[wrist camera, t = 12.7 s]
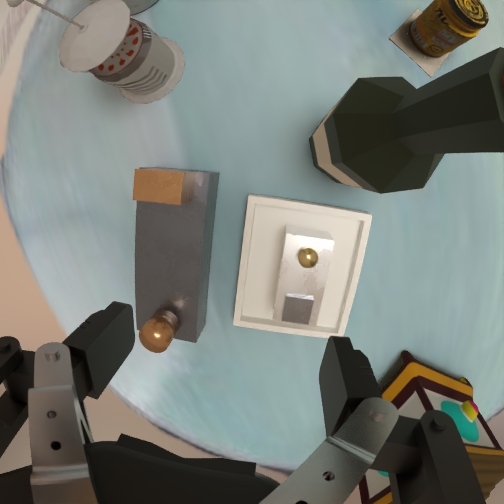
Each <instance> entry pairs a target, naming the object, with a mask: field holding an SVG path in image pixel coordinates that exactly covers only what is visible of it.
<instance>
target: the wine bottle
mask: <svg viewBox="0 0 504 504" xmlns="http://www.w3.org/2000/svg"><path fill="white" fill-rule="evenodd" d="M309 142H310V147H311V152H312V157H313V163H314V166H315V167H316V168H318V169H319V170H320V171H322V172H323V173H325V174H326V175H327V176H329V177H330V178H331V179H333V180H334V181H335V182H338V183H342V184H346V185H350V186H354V187H358V188H362V189H365V190H369V191H373V192H377V193H380V194H382V193H389V192H397V191H404V190H412V189H420V188H423V187H424V186H425V184H426V183H427V181H428V180H429V178H430V177H431V175H432V173H433V172H434V170H435V169H436V167H437V166H438V164H439V162H440V161H441V159H442V157H443V156H444V154H445V153H478V152H504V48H501V47H499V48H497V49H495V50H493V51H491V52H489V53H487V54H485V55H482V56H480V57H478V58H476V59H474V60H472V61H470V62H468V63H466V64H464V65H462V66H460V67H458V68H456V69H454V70H452V71H450V72H448V73H446V74H444V75H442V76H441V77H439V78H437V79H435V80H433V81H431V82H429V83H427V84H425V85H424V86H422V87H420V88H418V89H416V88H415V87H414V86H412V85H411V84H410V83H409V82H408V81H406V80H405V79H404V78H403V77H370V78H358V79H357V80H356V82H355V83H354V84H353V85H352V86H351V87H350V88H349V90H348V91H347V92H346V93H345V94H344V95H343V97H342V98H341V99H340V100H339V101H338V102H337V104H336V105H335V106H334V107H333V108H332V110H331V111H330V112H329V113H328V114H327V115H326V117H325V118H324V119H323V120H322V122H321V123H320V125H319V126H318V127H317V129H316V130H315V132H314V133H313V134H312V136H311V137H310V139H309Z"/></svg>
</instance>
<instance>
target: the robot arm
mask: <svg viewBox="0 0 504 504" xmlns="http://www.w3.org/2000/svg"><path fill="white" fill-rule="evenodd" d="M121 1H124V3H125V4H126V5H127V7H128V8H129V10H130V15H133V14H137V13H139V12H142V11H144V10H146V9H147V8H149V7H150V6H152V5H153V4H155V3H156V2H157V1H158V0H121ZM134 342H135V332H134V320H133V309H132V306H131V305H130V304H125V303H120V302H116V301H114V302H112V303H111V304H110V305H109V306H108V307H107V308H106V309H105V310H100V311H98V312H96V313H94V314H92V315H91V316H89V317H88V318H87V319H86V320H85V322H83V323H82V324H81V325H80V326H79V327H78V328H77V329H76V330H75V331H74V332H72V333H71V334H70V335H69V336H68V337H67V338H66V339H65V340H64V341H63V342H62V343H58V342H51V343H47V344H44V345H42V346H41V347H39V348H38V349H37V351H36V352H33V351H26V350H22V349H21V346H20V343H19V341H18V340H17V339H16V338H14V337H10V336H5V337H1V338H0V384H1V383H2V382H3V384H4V386H5V388H6V391H5V392H4V393H3V395H2V396H1V397H0V458H1V456H2V455H3V453H4V452H5V450H6V449H7V447H8V446H9V444H10V443H11V441H12V440H13V438H14V437H15V435H16V434H17V432H18V431H19V430H20V428H21V427H22V425H23V424H24V422H25V421H26V420H27V418H28V417H29V435H30V448H31V457H32V465H29V466H26V467H23V468H19V469H16V470H13V471H10V472H6V473H3V474H0V504H343V503H344V502H345V501H346V499H347V498H348V497H349V496H350V494H351V493H352V492H353V490H354V489H355V487H356V486H357V485H358V483H359V482H360V481H361V479H362V478H363V476H364V475H365V473H366V472H367V470H368V469H372V470H377V471H382V472H388V475H389V481H390V487H391V494H392V500H393V504H486V502H485V498H484V495H483V492H482V490H481V487H480V484H479V481H478V478H477V475H476V473H475V470H474V467H473V465H472V462H471V460H470V457H469V455H468V452H467V450H466V447H465V445H464V442H463V440H462V438H461V435H460V433H459V431H458V428H457V426H456V424H455V422H454V420H453V418H452V417H451V416H450V415H448V414H447V413H445V412H443V411H440V410H429V411H426V412H425V413H424V414H423V415H422V417H421V418H420V419H415V418H410V417H405V416H401V415H399V413H398V410H397V408H396V407H395V406H394V405H393V404H392V403H391V402H389V401H387V400H385V399H383V398H382V395H381V392H380V389H379V387H378V384H377V381H376V378H375V376H374V373H373V370H372V368H371V365H370V363H369V360H368V358H367V357H366V356H365V355H364V354H363V353H362V352H361V351H360V350H354V349H353V346H352V343H351V341H350V338H349V337H342V336H330V337H329V339H328V342H327V346H326V349H325V353H324V356H323V360H322V363H321V367H320V372H319V384H320V391H321V398H322V405H323V413H324V420H325V428H326V436H327V438H326V439H325V440H324V442H323V443H322V444H321V445H320V446H319V447H318V448H317V449H316V450H315V451H314V452H313V453H312V454H311V455H310V456H309V457H308V458H307V459H306V460H305V462H304V463H303V464H302V465H301V466H299V467H298V468H297V469H296V470H295V471H294V472H293V473H292V474H291V475H290V476H289V477H288V478H287V479H286V480H285V481H284V482H283V483H282V484H280V483H278V482H277V481H275V480H273V479H272V478H269V477H267V476H265V475H263V474H260V473H257V472H255V469H256V463H253V462H245V461H237V460H230V459H224V458H182V457H180V456H178V455H175V454H173V453H171V452H169V451H167V450H165V449H163V448H161V447H159V446H157V445H155V444H153V443H151V442H147V441H144V440H141V439H137V438H134V437H130V436H128V435H125V434H121V435H120V437H119V439H118V441H100V442H94V440H93V436H92V432H91V428H90V424H89V420H88V415H87V411H86V406H85V403H84V399H85V398H86V396H89V397H92V398H94V399H98V398H99V396H100V395H101V394H102V392H103V391H104V389H105V388H106V386H107V385H108V383H109V382H110V381H111V379H112V378H113V376H114V375H115V373H116V372H117V370H118V369H119V368H120V366H121V365H122V363H123V362H124V361H125V359H126V358H127V356H128V355H129V353H130V352H131V351H132V349H133V346H134Z"/></svg>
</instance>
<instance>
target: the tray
mask: <svg viewBox="0 0 504 504" xmlns="http://www.w3.org/2000/svg"><path fill="white" fill-rule="evenodd" d="M371 220H372V215H371V214H369V213H367V212H364V211H359V210H353V209H348V208H342V207H336V206H330V205H324V204H318V203H312V202H306V201H300V200H293V199H286V198H280V197H273V196H266V195H258V194H250V195H249V196H248V204H247V212H246V220H245V228H244V236H243V244H242V253H241V261H240V269H239V278H238V286H237V295H236V303H235V312H234V321H233V325H235V326H241V327H248V328H254V329H261V330H268V331H275V332H282V333H289V334H297V335H305V336H313V337H322V338H329V337H330V336H342V337H343V335H344V332H345V328H346V325H347V322H348V318H349V314H350V311H351V307H352V303H353V300H354V296H355V292H356V288H357V284H358V280H359V276H360V272H361V267H362V263H363V259H364V254H365V249H366V245H367V240H368V235H369V230H370V225H371ZM286 225H287V226H294V227H300V228H307V229H313V230H319V231H326V232H329V234H330V235H331V236H332V238H333V239H334V241H335V242H334V247H333V252H332V257H331V262H330V267H329V272H328V277H327V281H326V286H325V290H324V295H323V299H322V303H321V308H320V312H319V316H318V320H317V324H316V327H312V326H304V325H296V324H289V323H281V322H274V321H272V314H273V303H274V297H275V291H276V285H277V279H278V273H279V267H280V260H281V254H282V248H283V241H284V235H285V228H286Z"/></svg>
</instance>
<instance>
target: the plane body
mask: <svg viewBox="0 0 504 504" xmlns="http://www.w3.org/2000/svg"><path fill="white" fill-rule="evenodd" d="M218 180H219V173H217V172H208V171H197V170H186V169H174V168H161V167H146V168H139V169H135V176H134V189H133V200H137V210H136V236H135V297H136V322H137V330H140V332H139V338H140V341H141V343H142V344H143V346H144V347H145V348H146V349H148V350H150V351H152V352H155V353H160V352H163V351H165V350H166V349H167V348H168V346H169V344H170V343H171V341H172V339H173V338H175V339H180V340H184V341H189V342H194V343H196V342H197V340H198V338H199V336H200V334H201V332H202V330H203V328H204V326H205V322H206V308H207V295H208V282H209V270H210V259H211V248H212V237H213V227H214V217H215V207H216V198H217V189H218Z"/></svg>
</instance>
